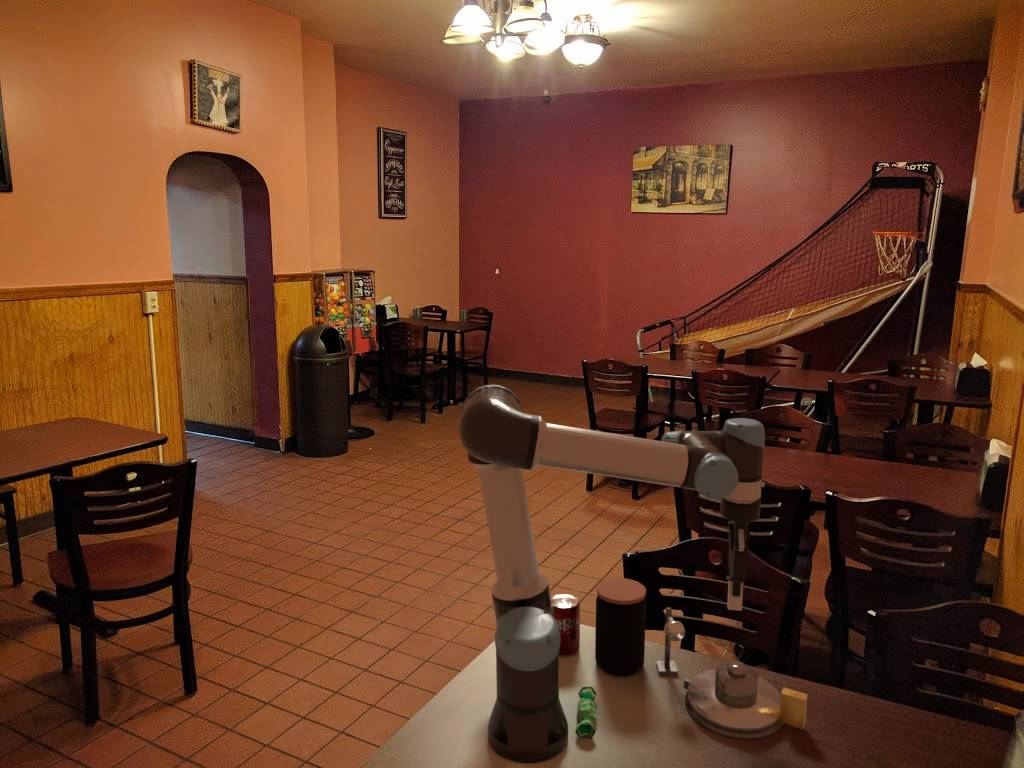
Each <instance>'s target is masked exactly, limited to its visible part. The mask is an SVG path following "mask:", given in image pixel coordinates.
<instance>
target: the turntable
mask: <svg viewBox="0 0 1024 768" xmlns="http://www.w3.org/2000/svg"><path fill="white" fill-rule="evenodd" d="M715 673H716V668H714V669H713V668H712V669H707V670H703V671H702V672H699V673H697V674H695V675H694V676H693V677H692V678H691V679H688V678H685V679H684V680H683V689H685V690H687V691H688V702H689V705H690V707H691V708H692V710H693V711H694V712H695V714H696V715H698V716H699V717H700V718H701V719H703V720H704V721H705V722H707V723H709V724H711V725H713V726H715V727H718V728H720V729H723V730H727V731H731V732H736V733H759V732H764V731H767V730H769V729H771V728H773V727H775V726H776V725H777V724H778V723H779V722H783V723H784V724H786V725H790V726H794V727H796V728H798V729H799V728H800V729H802V730H804V728H805V725H806V722H807V708H808V696H809V695H808V694H807V693H806V692H805V693H804V692H801V691H797V690H795V689H791V688H788V687H784V686H783V688H782V689H781V693H780V692H779V690H778V689H777V688H776V687H775V686H774V685H773V684H771V683H770V682H769V681H768V680H766V679H765V678H763V677H760V676H758V687H757V701H756V703H755V705H753V706H752V707H749V708H744V709H738V708H732V707H729V706H726V705H724V704H722V703H721V702H720V701H718V699H717V698H716V697H715Z"/></svg>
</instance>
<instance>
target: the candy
mask: <svg viewBox="0 0 1024 768" xmlns="http://www.w3.org/2000/svg"><path fill="white" fill-rule="evenodd" d="M577 694H578V697H579V699H580V700H579V701H578V703H577V705H576V707H577V708H576V719H577V720H578V722H579V724H578V725H577V726H576V729H575V734H576V736H577V737H578V739H581V737H582V736H587V735H588V736H589V737H590V740H591V739H593V738H594V735H595V734H596V730H595V728H594V723H595V721H596V720H597V715H596V714H597V706H596V704H595V703H594V701H595V700H596V699H597V694H598V693H597V692H596V690H595V689H594V686H582V687H581V688H580V690H579V691H578V693H577Z"/></svg>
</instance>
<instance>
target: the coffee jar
mask: <svg viewBox="0 0 1024 768" xmlns="http://www.w3.org/2000/svg"><path fill="white" fill-rule="evenodd" d="M596 593H597V596H596V598H595V641H594V643H595V647H594V653H595V654H594V655H595V656H594V659H595V662H596V665H598V668H599V669H600V670H601V671H602V672H603V673H606V674H607V675H609V676H611V677H612V676H613V677H618V678H627V677H631V676H634V675H637V673H639V672H640V670H641V669H642V668H643V666H644V664H645V652H646V651H645V647H646V645H645V643H646V642H645V641H646V615H647V614H646V611H647V609H646V607H647V600H646V594H647V588H646V587H645V585H643V584H642V583H640V582H639V581H636V580H635V579H634V580H633V579H630V578H626V577H625V578H624V577H614V578H613V577H611V578H608V579H607V578H606V579H604V580H602V581H600V582H599V583H597V586H596Z"/></svg>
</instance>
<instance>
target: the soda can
mask: <svg viewBox="0 0 1024 768" xmlns="http://www.w3.org/2000/svg"><path fill="white" fill-rule="evenodd" d="M551 599H552V602H553V608H554V614H553V615H554V619H555V620H556V622H557V625H558V628H559V633H560V647H559V658H569V657H572V656H575V655H576V654H577V653H578V652H579V650H580V646H581V645H580V644H581V643H580V640H581V602H580V601H579V600H580V599H578V598H577V597H576V596H575V595H572V594H569V593H560V594H558V593H557V594H555V595H553V596H552V595H551Z"/></svg>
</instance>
